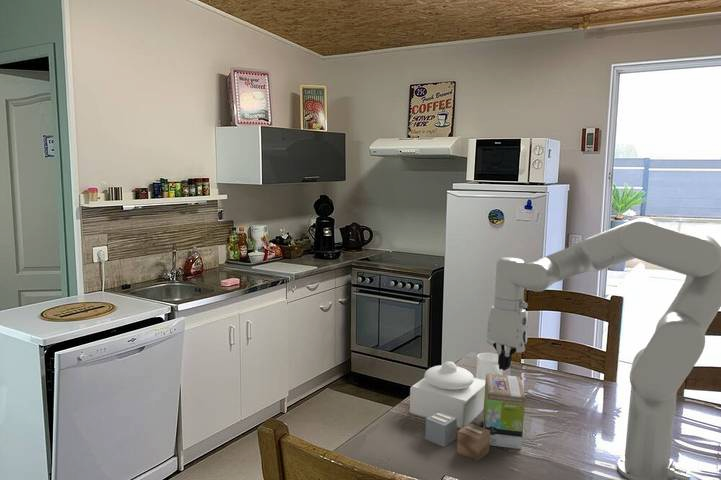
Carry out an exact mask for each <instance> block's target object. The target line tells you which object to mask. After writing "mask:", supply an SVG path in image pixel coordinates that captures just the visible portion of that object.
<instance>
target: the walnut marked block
mask: <svg viewBox="0 0 721 480" xmlns="http://www.w3.org/2000/svg"><path fill="white" fill-rule="evenodd" d="M456 444H457V446H456V448H457V449H456V450H457V451H456V453H458V454H460V455H462V456H465V457H467V458H470V459H473V460H475V461H477V462H478V461H480V460H481V459H482V458H484V457H485V456H487V454H488V453H490V446H491V445H490V430H488V429H485V428H484V427H482V426H479V425H476V424H474V423H472V422H471V423H469V424H468V425H466V426H465V427H463V428H462V429H461V428H459V430H457V443H456Z"/></svg>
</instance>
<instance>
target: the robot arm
mask: <svg viewBox="0 0 721 480" xmlns="http://www.w3.org/2000/svg"><path fill="white" fill-rule="evenodd" d="M634 259H637V260H640V261H641V262H645V263H648V264H651V265H654V266H657V267H660V268H662V269H667V270H669V271H673V272H676V273H678V274H681V275H685V279H684V282H683V284H682V285H681V287H680V289H679V291H678V293H677V295H676V296H675V298H674V299H673V301H672V302H671V304H670V305H669V306H668V309H666V311H665V313H664V314H663V315H662V317H661V318H659V320H658V322H657V324H656V328H655V330H654V333H653V335H652V336H651V338H650V340H649V341H648V343H647V344H646V346H645V347H644V348H642V349H641V350H640V351H638V352H637V353H636V354H635V356H634V358H633V359H632V360H633V361H632V364H631V367H630V371H629V383H630V393H629V394H630V397H629V404H628V405H629V406H628V407H629V408H628V415H627V417H628V418H627V428H626V438H625V451H624V456H621V457H620V458H619V459H618V460H617V463H616V468H617V470H618V472H619V473H620V475H622V476H623V477H625V478H626V479H627V480H691V475H689V474H687V470H686V469H683V468H679V467H676V465H674V459H673V458H671V451H672V441H673V432H674V424H675V423H674V422H675V416H676V415H675V414H676V406H677V405H676V403H677V395H678V394H677V393H678V391H679V390H680V388H681V386H682V385H683V383H684V381H685V380H686V379H687V377H688V376H689V375H690V374H691V371H693V368H694V366H695V365H696V363H697V362H698V361H699V359H700V358H701V356H702V354H703V352H704V349H705V345H706V332H707V330H708V329H709V327H710V325H711V324H712V322H713V320H714V319H715V317H716V316H717V313H718V312H719V310H720V309H721V245H720V244H719V242H717V241H716V240H715V239H714V238H713V237H711V236H709V235H707V234H705V233H699V232H698V233H696V232H695V233H692V234H688V233H685V232H681V231H678V230H675V229H671V228H668V227H664V226H661V225H659V223H657V222H656V221H655V220H653V219H651V218H648V217H639V218H635V219H633V220H630V221H628V222H625V223H622V224H620V225H618V226H615V227H613V228H612V227H611V228H610V229H607V230H605V231H603V232H600V233H598V234H597V233H596V234H594V235H593V236H590V237H587V238H585V239H582V240H581V241H578V243H575V244H573V245H571V246H568V247H566V248H563V249H562V250H559V251H555V252H554V253H551V254H548V255H546V256H543V257H541V258H539V259H536V260H534V261H531V262H525V260H523V259H521V258H517V257H507V256H506V257H501V258H500V257H499V259H498V260H497V261H496V267H495V268H496V269H495V281H494V282H495V285H494V296H493V297H494V301H493V305H492V306H491V308H490V312H489V316H488V320H487V321H488V322H487V327H486V339H487V340H486V344H488V345H490V346H492V347H493V348H494V350H495V351H496V354H498V355H499V356H498V365H499V369H502V370H503V372H504V371H507V370H508V369H510V367H511V365H512V364H511V363H512V355H514V354H515V353H524V352H525V351H526V347H525V345H526V344H527V342H528V319H527V318H528V317H527V312H526V309H527V308H528V307H529V305H528V304H529V303H528V302H525V298H524V297H525V296H524V294H525V290H528V291H531V292H543V291H546V290H547V289H548V288H549V287H551V286H552V285H554V284H555V283H558V282H561V281H563V280H565V279H569V278H572V277H574V276H577V275H580V274H583V273H596V272H600V271H603V270H606V269H609V268H612V267H615V266H617V265H620V264H623V263H626V262H629V261H632V260H634Z"/></svg>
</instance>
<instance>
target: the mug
mask: <svg viewBox="0 0 721 480" xmlns="http://www.w3.org/2000/svg"><path fill="white" fill-rule="evenodd" d="M498 356H499V355H498V354H497V353H493V352H481V353H478V354H477V355H476V371H475V372H476V373H475V374H476V376H475V378H477V379H481V380H485V381H486V374H496V375H504V374H503V372H504V370H502V369H499V365H498Z"/></svg>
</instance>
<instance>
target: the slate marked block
mask: <svg viewBox="0 0 721 480" xmlns="http://www.w3.org/2000/svg"><path fill="white" fill-rule="evenodd" d="M457 429H458V427H457V418H455V417H452V416H450V415H447V414H444V413H442V412H439V411H438V412H436V413H435V414H433V415H431V416H430V417H428V418H425V440H427V441H428V442H431V443H434V444H437V446H441V447H444V448H445V447H446V446H448V445H449V444H450V443H452V442H454V441H455V440H457Z"/></svg>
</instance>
